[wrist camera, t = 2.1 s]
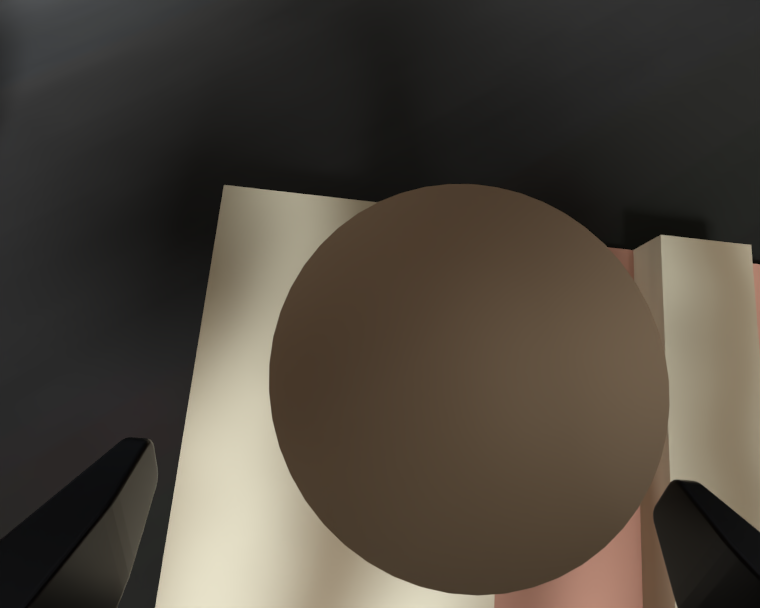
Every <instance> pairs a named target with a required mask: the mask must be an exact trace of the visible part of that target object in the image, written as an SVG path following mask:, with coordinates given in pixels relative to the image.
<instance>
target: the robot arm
mask: <svg viewBox="0 0 760 608" xmlns="http://www.w3.org/2000/svg"><path fill="white" fill-rule="evenodd" d="M157 479H158V469H157V463H156V457H155V450H154V445H153V442H152V441H151V440H150V439H145V438H132V437H129V438H125V439H123V440H122V441H120V442H119V443H118V444H117V445H115V446H114V447H113V448H112V449H111V450H109V451H108V452H107V453H106V454H104V455H103V456H102V457H101V458H100V459H98V460H97V461H96V462H95V463H93V464H92V465H91V466H90V467H89V468H87V469H86V470H85V471H84V472H82V473H81V474H80V475H79V476H78V477H76V478H75V479H74V480H73V481H72V482H70V483H69V484H68V485H67V486H65V487H64V488H63V489H62V490H61V491H59V492H58V493H57V494H56V495H54V496H53V497H52V498H51V499H50V500H48V501H47V502H46V503H45V504H44V505H42V506H41V507H40V508H39V509H37V510H36V511H35V512H34V513H33V514H31V515H30V516H29V517H28V518H26V519H25V520H24V521H23V522H22V523H20V524H19V525H18V526H17V527H15V528H14V529H13V530H12V531H11V532H9V533H8V534H7V535H6V536H5V537H3V538H2V539H1V540H0V608H117V606H118V604H119V601H120V599H121V596H122V594H123V592H124V589H125V586H126V584H127V581H128V579H129V576H130V573H131V569H132V566H133V563H134V560H135V556H136V553H137V550H138V546H139V543H140V539H141V536H142V533H143V529H144V526H145V522H146V519H147V516H148V512H149V509H150V506H151V502H152V499H153V495H154V492H155V489H156V485H157ZM653 521H654V525H655V529H656V533H657V536H658V540H659V544H660V547H661V551H662V555H663V558H664V562H665V566H666V569H667V573H668V577H669V581H670V584H671V588H672V592H673V595H674V598H675V602H676V605H677V608H760V532H759V531H758V530H757V529H756V528H755V527H753V526H752V525H751V524H750V523H749V522H747V521H746V520H745V519H744V518H742V517H741V516H740V515H739V514H738V513H736V512H735V511H734V510H733V509H731V508H730V507H729V506H728V505H727V504H725V503H724V502H723V501H722V500H720V499H719V498H718V497H717V496H716V495H714V494H713V493H712V492H711V491H709V490H708V489H707V488H706V487H705V486H703V485H702V484H701V483H699V482H696V481H692V480H679V479H676V480H673V481H671V482H670V483H669V484H668V486H667V488H666V489H665V491H664V492H663V494H662V495H661V497H660V499H659V500H658V502H657V503H656V505H655V507H654V510H653Z"/></svg>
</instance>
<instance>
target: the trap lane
mask: <svg viewBox="0 0 760 608" xmlns="http://www.w3.org/2000/svg"><path fill="white" fill-rule="evenodd" d="M376 203H378V202H370V201H361V200H352V199H343V198H334V197H326V196H317V195H308V194H299V193H291V192H282V191H273V190H264V189H256V188H247V187H238V186H229V185H224V187H223V194H222V200H221V206H220V212H219V218H218V224H217V231H216V237H215V243H214V249H213V255H212V261H211V267H210V274H209V280H208V286H207V292H206V298H205V304H204V311H203V317H202V323H201V329H200V335H199V341H198V348H197V354H196V360H195V366H194V372H193V378H192V385H191V391H190V397H189V403H188V409H187V415H186V421H185V428H184V434H183V440H182V446H181V452H180V458H179V465H178V471H177V477H176V483H175V489H174V495H173V502H172V508H171V514H170V520H169V526H168V532H167V538H166V545H165V551H164V557H163V563H162V569H161V575H160V582H159V588H158V594H157V600H156V606H155V608H677V605H676V602H675V598H674V595H673V592H672V588H671V584H670V581H669V577H668V573H667V569H666V566H665V562H664V558H663V555H662V551H661V547H660V544H659V540H658V536H657V533H656V529H655V525H654V521H653V510H654V507H655V505H656V503H657V502H658V500H659V499H660V497H661V495H662V494H663V492H664V491H665V489H666V488H667V486H668V484H669V483H670V482H671V481H673V480H676V479H679V480H692V481H696V482H699V483H701V484H702V485H703V486H705V487H706V488H707V489H708V490H709V491H711V492H712V493H713V494H714V495H716V496H717V497H718V498H719V499H720V500H722V501H723V502H724V503H725V504H727V505H728V506H729V507H730V508H731V509H733V510H734V511H735V512H736V513H738V514H739V515H740V516H741V517H742V518H744V519H745V520H746V521H747V522H749V523H750V524H751V525H752V526H753V527H755V528H756V529H757V530H758V531H759V532H760V264H753V262H752V250H751V245H746V244H737V243H729V242H720V241H711V240H702V239H694V238H685V237H676V236H667V235H659V236H658V237H656V238H654V239H652V240H650V241H649V242H647V243H645V244H643V245H642V246H640V247H638V248H636V249H635V250H627V249H618V248H609V247H608V249H609V250H610V251H611V252H612V253H613V254H614V255H615V256H616V257H617V258H618V260H619V261H620V262H621V263H622V264H623V266H624V267H625V269H626V270H627V271H628V273H629V274H630V276H631V277H632V278H633V280H634V281H635V283H636V284H637V286H638V288H639V290H640V291H641V293H642V295H643V297H644V299H645V300H646V302H647V304H648V306H649V308H650V311H651V313H652V316H653V318H654V321H655V323H656V325H657V328H658V331H659V334H660V338H661V342H662V345H663V349H664V352H665V358H666V364H667V371H668V377H669V402H670V407H669V418H668V428H667V435H666V439H665V444H664V448H663V452H662V457H661V460H660V463H659V465H658V468H657V471H656V473H655V476H654V479H653V481H652V484H651V486H650V487H649V489H648V491H647V493H646V495H645V497H644V499H643V501H642V502H641V504H640V506H639V508H638V509H637V510H636V512H635V513H634V515H633V516H632V517H631V519H630V520H629V521H628V523H627V524H626V525H625V527H624V528H623V529H622V530H621V531H620V532H619V533H618V534H617V535H616V536H615V538H614V539H613V540H612V541H611V542H610V543H609V544H608V545H607V546H606V547H605V548H604V549H602V550H601V551H600V552H598V553H597V554H596V555H594V556H593V557H592V558H591V559H589V560H588V561H587V562H585V563H584V564H583V565H581V566H579V567H577V568H576V569H574V570H572V571H570V572H568V573H567V574H565V575H563V576H561V577H559V578H557V579H554V580H552V581H549V582H547V583H544V584H541V585H539V586H536V587H533V588H529V589H525V590H520V591H515V592H511V593H506V594H493V595H479V596H476V595H463V594H451V593H445V592H441V591H436V590H432V589H427V588H423V587H419V586H417V585H414V584H411V583H409V582H406V581H404V580H401V579H398V578H396V577H393V576H391V575H390V574H388V573H386V572H384V571H382V570H381V569H379V568H377V567H375V566H373V565H372V564H370V563H368V562H367V561H365V560H364V559H363V558H361V557H360V556H359V555H357V554H356V553H355V552H353V551H352V550H351V549H349V548H348V547H347V546H345V545H344V544H343V543H342V542H341V541H340V540H339V539H338V538H337V537H336V536H335V535H334V534H333V533H332V532H331V531H330V530H329V529H328V528H327V527H326V526H325V525H324V524H323V523H322V522H321V520H320V519H319V518H318V516H317V515H316V514H315V513H314V511H313V510H312V509H311V507H310V506H309V505H308V503H307V502H306V501H305V499H304V498H303V496H302V494H301V492H300V490H299V489H298V487H297V485H296V483H295V482H294V480H293V478H292V476H291V475H290V472H289V470H288V467H287V465H286V462H285V460H284V457H283V455H282V453H281V450H280V448H279V444H278V440H277V436H276V432H275V428H274V424H273V420H272V413H271V405H270V396H269V363H270V356H271V349H272V342H273V336H274V332H275V329H276V325H277V322H278V318H279V315H280V311H281V309H282V307H283V304H284V302H285V300H286V297H287V295H288V293H289V290H290V288H291V286H292V285H293V283H294V281H295V280H296V278H297V276H298V275H299V273H300V271H301V270H302V268H303V266H304V265H305V263H306V262H307V261H308V260H309V258H310V257H311V256H312V255H313V253H314V252H315V251H316V250H317V248H318V247H319V246H320V245H321V244H322V243H323V242H324V241H325V240H326V239H327V238H328V237H329V236H330V235H331V234H332V233H333V232H334V231H335V230H336V229H337V228H339V227H340V226H341V225H343V224H344V223H345V222H347V221H348V220H350V219H351V218H352V217H354V216H355V215H356V214H358V213H359V212H361V211H363V210H365V209H367V208H369V207H370V206H372V205H374V204H376Z"/></svg>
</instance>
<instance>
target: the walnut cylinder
mask: <svg viewBox="0 0 760 608" xmlns="http://www.w3.org/2000/svg"><path fill="white" fill-rule="evenodd" d="M269 396H270V405H271V413H272V420H273V424H274V428H275V432H276V436H277V440H278V444H279V448H280V450H281V453H282V455H283V457H284V460H285V462H286V465H287V467H288V470H289V472H290V475H291V476H292V478H293V480H294V482H295V483H296V485H297V487H298V489H299V490H300V492H301V494H302V496H303V498H304V499H305V501H306V502H307V503H308V505H309V506H310V507H311V509H312V510H313V511H314V513H315V514H316V515H317V516H318V518H319V519H320V520H321V522H322V523H323V524H324V525H325V526H326V527H327V528H328V529H329V530H330V531H331V532H332V533H333V534H334V535H335V536H336V537H337V538H338V539H339V540H340V541H341V542H342V543H343V544H344V545H345V546H347V547H348V548H349V549H351V550H352V551H353V552H355V553H356V554H357V555H359V556H360V557H361V558H363V559H364V560H365V561H367V562H368V563H370V564H372V565H373V566H375V567H377V568H379V569H381V570H382V571H384V572H386V573H388V574H390V575H391V576H393V577H396V578H398V579H401V580H404V581H406V582H409V583H411V584H414V585H417V586H419V587H423V588H427V589H432V590H436V591H441V592H445V593H451V594H463V595H476V596H479V595H493V594H506V593H511V592H515V591H520V590H525V589H529V588H533V587H536V586H539V585H541V584H544V583H547V582H549V581H552V580H554V579H557V578H559V577H561V576H563V575H565V574H567V573H568V572H570V571H572V570H574V569H576V568H577V567H579V566H581V565H583V564H584V563H585V562H587V561H588V560H589V559H591V558H592V557H593V556H594V555H596V554H597V553H598V552H600V551H601V550H602V549H604V548H605V547H606V546H607V545H608V544H609V543H610V542H611V541H612V540H613V539H614V538H615V536H616V535H617V534H618V533H619V532H620V531H621V530H622V529H623V528H624V527H625V525H626V524H627V523H628V521H629V520H630V519H631V517H632V516H633V515H634V513H635V512H636V510H637V509H638V508H639V506H640V504H641V502H642V501H643V499H644V497H645V495H646V493H647V491H648V489H649V487H650V486H651V484H652V481H653V479H654V476H655V473H656V471H657V468H658V465H659V463H660V460H661V457H662V452H663V448H664V444H665V439H666V435H667V428H668V418H669V407H670V402H669V377H668V371H667V364H666V358H665V352H664V349H663V345H662V342H661V338H660V334H659V331H658V328H657V325H656V323H655V321H654V318H653V316H652V313H651V311H650V308H649V306H648V304H647V302H646V300H645V299H644V297H643V295H642V293H641V291H640V290H639V288H638V286H637V284H636V283H635V281H634V280H633V278H632V277H631V276H630V274H629V273H628V271H627V270H626V269H625V267H624V266H623V264H622V263H621V262H620V261H619V260H618V258H617V257H616V256H615V255H614V254H613V253H612V252H611V251H610V250H609V249H608V247H607V246H606V245H605V244H604V243H603V242H602V241H600V240H599V239H598V238H597V237H596V236H595V235H594V234H592V233H591V232H590V231H589V230H588V229H587V228H586V227H584V226H583V225H581V224H580V223H578V222H577V221H575V220H574V219H572V218H571V217H570V216H568V215H567V214H565V213H563V212H561V211H559V210H558V209H556V208H554V207H552V206H550V205H548V204H546V203H544V202H542V201H540V200H537V199H534V198H532V197H529V196H527V195H524V194H521V193H518V192H514V191H510V190H506V189H502V188H498V187H491V186H484V185H476V184H445V185H437V186H428V187H423V188H419V189H415V190H411V191H407V192H403V193H400V194H397V195H395V196H392V197H390V198H387V199H385V200H382V201H379V202H378V203H376V204H374V205H372V206H370V207H369V208H367V209H365V210H363V211H361V212H359V213H358V214H356V215H355V216H354V217H352V218H351V219H350V220H348V221H347V222H345V223H344V224H343V225H341V226H340V227H339V228H337V229H336V230H335V231H334V232H333V233H332V234H331V235H330V236H329V237H328V238H327V239H326V240H325V241H324V242H323V243H322V244H321V245H320V246H319V247H318V248H317V250H316V251H315V252H314V253H313V255H312V256H311V257H310V258H309V260H308V261H307V262H306V263H305V265H304V266H303V268H302V270H301V271H300V273H299V275H298V276H297V278H296V280H295V281H294V283H293V285H292V286H291V288H290V290H289V293H288V295H287V297H286V300H285V302H284V304H283V307H282V309H281V311H280V315H279V318H278V322H277V325H276V329H275V332H274V336H273V342H272V349H271V356H270V363H269Z"/></svg>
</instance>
